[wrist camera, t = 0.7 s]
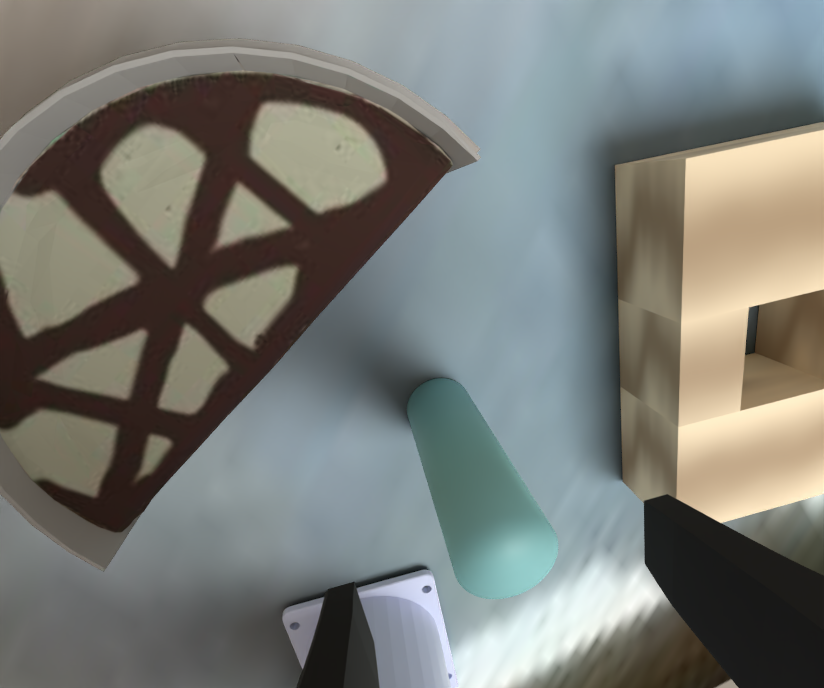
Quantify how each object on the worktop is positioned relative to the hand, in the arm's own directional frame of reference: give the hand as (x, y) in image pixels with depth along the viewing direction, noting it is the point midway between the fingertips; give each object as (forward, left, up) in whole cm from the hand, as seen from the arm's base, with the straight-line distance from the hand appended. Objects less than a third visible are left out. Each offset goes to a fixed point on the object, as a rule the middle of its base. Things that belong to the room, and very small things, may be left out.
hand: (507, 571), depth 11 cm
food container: (+8, +6, -11) cm, 15 cm away
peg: (-1, 0, -10) cm, 10 cm away
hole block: (0, -14, -10) cm, 18 cm away
